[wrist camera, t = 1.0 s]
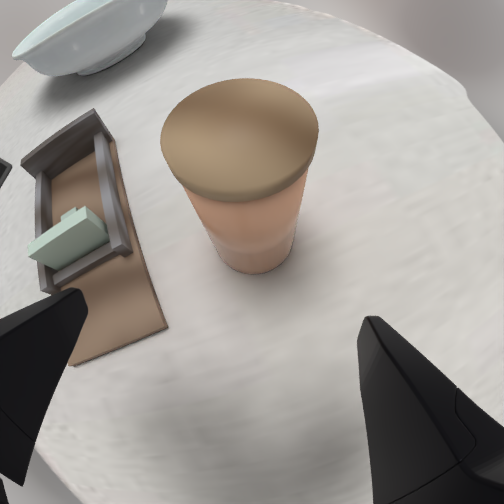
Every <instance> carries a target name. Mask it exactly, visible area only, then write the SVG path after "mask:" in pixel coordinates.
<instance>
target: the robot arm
mask: <svg viewBox="0 0 504 504" xmlns="http://www.w3.org/2000/svg"><path fill="white" fill-rule="evenodd" d="M87 316H88V306H87V303H86V300H85V298H84V295H83V292H82V290H81V289H79V288H74V287H70V288H67V289H65V290H63V291H61V292H58V293H56V294H54V295H52V296H49V297H47V298H45V299H43V300H40V301H38V302H36V303H34V304H32V305H29V306H27V307H25V308H23V309H21V310H19V311H16V312H14V313H12V314H10V315H8V316H6V317H4V318H2V319H0V473H1V474H3V475H4V476H6V477H7V478H9V479H11V480H12V481H13V482H15V483H17V484H18V485H20V486H23V484H24V481H25V477H26V473H27V470H28V466H29V462H30V458H31V455H32V452H33V449H34V446H35V442H36V439H37V436H38V433H39V430H40V427H41V425H42V422H43V419H44V417H45V414H46V411H47V409H48V406H49V404H50V401H51V399H52V396H53V394H54V392H55V389H56V387H57V385H58V382H59V380H60V378H61V376H62V373H63V371H64V369H65V367H66V365H67V363H68V361H69V358H70V356H71V354H72V352H73V350H74V348H75V345H76V343H77V340H78V337H79V335H80V332H81V330H82V327H83V325H84V323H85V320H86V318H87ZM357 349H358V362H359V378H360V390H361V397H362V403H363V410H364V416H365V423H366V430H367V438H368V446H369V455H370V465H371V476H372V489H373V504H504V427H503V426H502V425H500V424H499V423H498V422H497V421H495V420H494V419H493V418H492V417H490V416H489V415H488V414H487V413H486V412H485V411H483V410H482V409H481V408H480V407H479V406H477V405H476V404H475V403H474V402H473V401H472V400H471V399H470V398H469V397H468V396H467V395H465V394H464V393H463V392H462V391H461V390H460V389H459V388H457V386H456V385H455V384H454V383H453V382H452V381H451V380H450V379H448V378H447V377H446V376H445V375H444V374H443V373H442V372H441V371H440V370H439V369H438V368H437V367H436V366H434V365H433V364H432V363H431V362H430V361H429V360H428V359H427V358H426V357H425V356H423V355H422V354H421V353H420V352H419V351H418V350H417V349H416V348H415V347H414V346H412V345H411V344H410V343H409V342H408V341H407V340H406V339H405V338H403V337H402V336H401V335H400V334H399V333H398V332H397V331H396V330H394V329H393V328H392V327H391V326H390V325H389V324H388V323H386V322H385V321H384V320H383V319H382V318H381V317H379V316H366V317H365V318H364V320H363V323H362V326H361V329H360V332H359V335H358V339H357ZM0 504H9V503H8V500H7V496H6V492H5V489H4V485H3V481H2V479H1V478H0Z"/></svg>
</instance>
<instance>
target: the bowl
mask: <svg viewBox="0 0 504 504" xmlns="http://www.w3.org/2000/svg"><path fill="white" fill-rule="evenodd" d="M166 5H167V0H76V1H74V2H73V3H71V4H69V5H67V6H66V7H64V8H63V9H61V10H60V11H58V12H57V13H55V14H54V15H52V16H51V17H50V18H48V19H47V20H46V21H44V22H43V23H42V24H40V25H39V26H38V27H37V28H36V29H35V30H33V31H32V32H31V33H30V34H29V35H28V36H27V37H26V38H25V39H24V40H23V41H22V42H21V43H20V44H19V45H18V47H17V48H16V49H15V50H14V52H13V54H12V58H13V59H14V60H23V61H25V62H26V63H27V64H28V65H30V66H31V67H32V68H33V69H34V70H36V71H37V72H39V73H41V74H44V75H48V76H63V75H68V74H72V73H75V72H77V73H78V74H79V75H82V76H84V75H90V74H93V73H96V72H99V71H101V70H104V69H106V68H108V67H110V66H112V65H114V64H115V63H117V62H119V61H121V60H122V59H124V58H125V57H127V56H128V55H130V54H131V53H133V52H134V51H135V50H136V49H138V48H139V47H140V46H141V45H142V44H143V42H144V41H145V39H146V35H145V33H146V32H147V31H148V30H149V29H150V28H151V27H152V26H153V25H154V24H155V23H156V22H157V21H158V20H159V18H160V17H161V15H162V14H163V12H164V10H165V7H166Z"/></svg>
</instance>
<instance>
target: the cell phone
mask: <svg viewBox="0 0 504 504" xmlns="http://www.w3.org/2000/svg"><path fill="white" fill-rule="evenodd" d="M11 169H12V165H11V164H9V163H8V162H6V161H4V160H3V159H1V158H0V188H1V186H2V184H3V183H4V181H5V179H6V178H7V176H8V174H9V173H10V171H11Z"/></svg>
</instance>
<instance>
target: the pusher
mask: <svg viewBox="0 0 504 504" xmlns="http://www.w3.org/2000/svg"><path fill="white" fill-rule="evenodd" d="M108 242H110V238H109V234H108V229H107V224H106V223H105V222H104V221H102V220H101V219H100V218H99V217H98V216H96V215H95V214H94V213H93V212H92V211H91V210H89V209H88V208H87V207H86V206H84V207H82V208H81V209H78V208H76V207H74V208H73V209H71V210H70V211H68V212H67V213H65V214H64V215H62V216H61V222H59V223H58V224H56V225H55V226H53V227H52V228H51V229H49V230H48V231H46V232H45V233H43V234H42V235H41V236H39V237H38V238H37V239H35V240H34V241H32V242H31V243H30V244H28V257H30V258H32V259H34V260H36V261H38V262H40V263H42V264H44V265H46V266H49V267H51V268H53V269H55V270H57V271H60V270H62V269H63V268H65V267H67V266H68V265H70V264H72V263H73V262H75V261H77V260H78V259H80V258H82V257H84V256H85V255H87V254H89V253H90V252H92V251H94V250H96V249H97V248H99V247H101V246H103V245H105V244H106V243H108Z"/></svg>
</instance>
